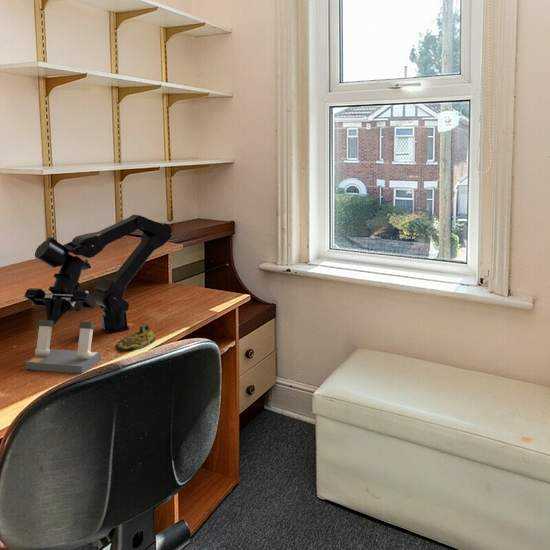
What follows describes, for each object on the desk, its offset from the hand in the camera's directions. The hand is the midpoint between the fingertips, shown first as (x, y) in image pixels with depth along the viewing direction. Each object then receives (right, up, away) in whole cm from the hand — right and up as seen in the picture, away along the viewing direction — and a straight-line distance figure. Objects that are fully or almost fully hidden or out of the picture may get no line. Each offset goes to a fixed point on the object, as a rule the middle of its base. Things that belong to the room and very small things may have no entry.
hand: (50, 326), depth 149 cm
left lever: (-1, -6, -3) cm, 7 cm away
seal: (+20, -6, +11) cm, 24 cm away
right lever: (+11, -7, -6) cm, 14 cm away
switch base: (+5, -10, -4) cm, 11 cm away
